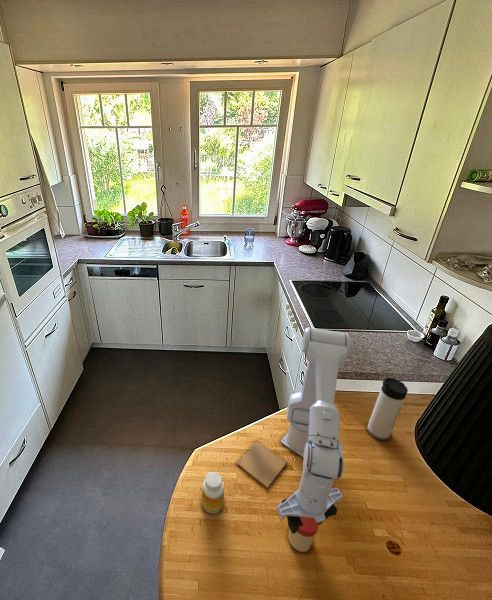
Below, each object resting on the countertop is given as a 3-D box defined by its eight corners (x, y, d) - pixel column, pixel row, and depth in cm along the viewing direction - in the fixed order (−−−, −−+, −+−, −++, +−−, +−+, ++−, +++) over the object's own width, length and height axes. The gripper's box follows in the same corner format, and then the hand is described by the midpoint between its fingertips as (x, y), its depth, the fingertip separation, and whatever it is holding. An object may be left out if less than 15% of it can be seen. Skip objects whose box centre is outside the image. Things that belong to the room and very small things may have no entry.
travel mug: (363, 422, 105) (379, 375, 96) (384, 424, 104) (403, 377, 95) (369, 438, 100) (388, 390, 90) (392, 441, 99) (413, 392, 89)
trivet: (257, 442, 98) (257, 441, 98) (286, 463, 92) (286, 462, 92) (237, 464, 92) (237, 463, 92) (267, 488, 86) (267, 487, 86)
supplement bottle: (221, 516, 80) (223, 492, 75) (200, 511, 81) (200, 487, 76) (224, 494, 84) (226, 471, 80) (203, 490, 85) (204, 467, 81)
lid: (291, 506, 75) (292, 501, 74) (316, 512, 74) (318, 508, 73) (291, 532, 70) (292, 528, 69) (318, 540, 69) (320, 535, 68)
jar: (294, 522, 79) (299, 503, 75) (315, 538, 75) (321, 519, 72) (284, 539, 75) (288, 520, 72) (304, 557, 72) (311, 538, 68)
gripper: (293, 517, 61) (283, 554, 67) (357, 497, 64) (343, 534, 71) (275, 483, 67) (268, 519, 73) (335, 466, 70) (323, 502, 77)
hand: (303, 524), depth 72 cm, fingers closed on lid, 5 cm apart
